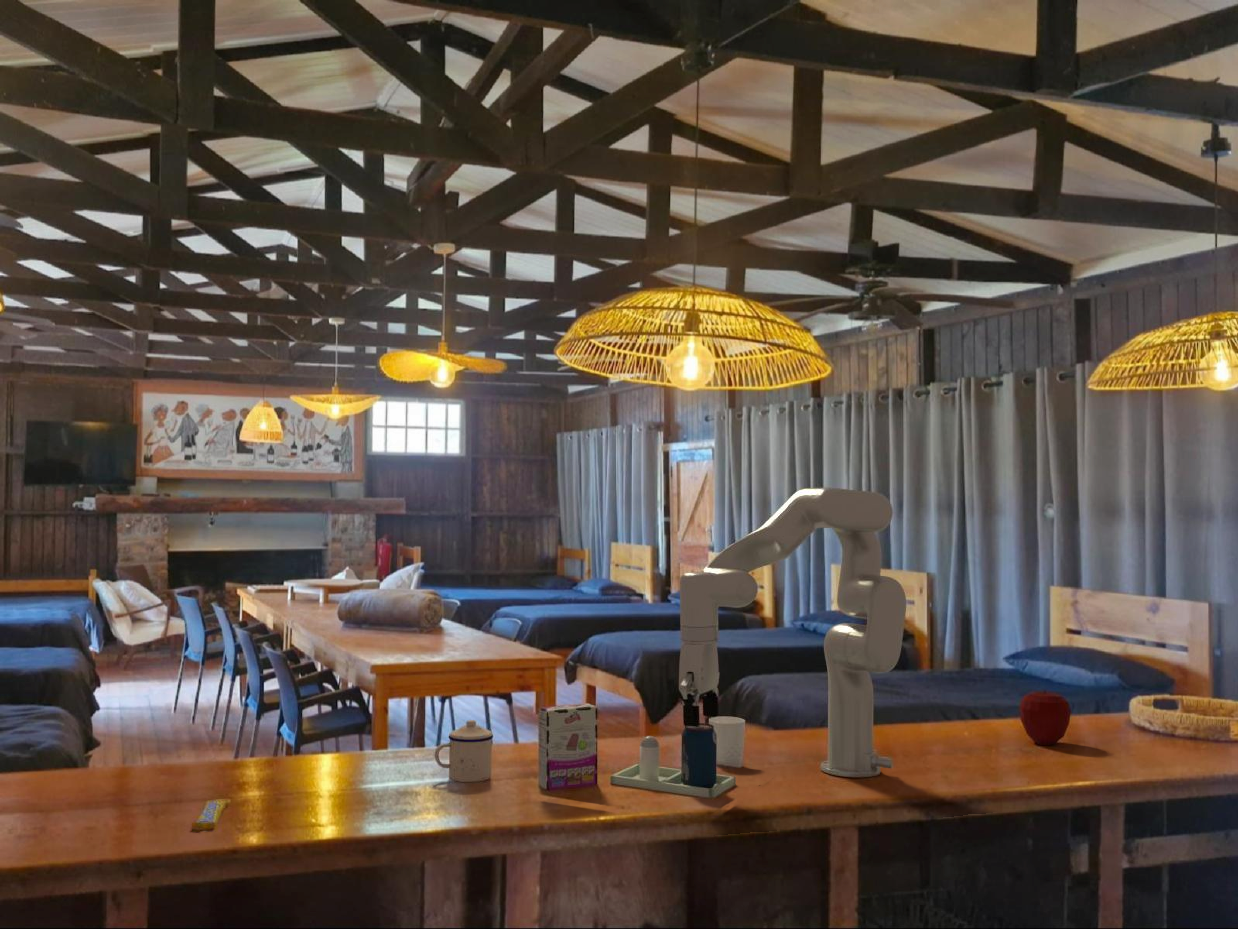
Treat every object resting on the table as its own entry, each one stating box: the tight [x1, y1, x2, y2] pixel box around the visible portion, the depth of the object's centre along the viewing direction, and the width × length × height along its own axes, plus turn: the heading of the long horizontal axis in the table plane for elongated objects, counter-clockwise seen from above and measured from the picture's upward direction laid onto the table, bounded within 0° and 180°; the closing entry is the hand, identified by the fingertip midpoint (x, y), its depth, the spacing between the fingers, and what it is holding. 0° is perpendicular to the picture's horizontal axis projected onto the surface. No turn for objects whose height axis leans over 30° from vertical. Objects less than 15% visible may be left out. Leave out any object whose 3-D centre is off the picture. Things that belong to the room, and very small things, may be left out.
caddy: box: [609, 763, 736, 799], centre depth 214 cm, size 22×12×2 cm, turn 63°
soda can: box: [680, 722, 717, 789], centre depth 212 cm, size 7×7×12 cm
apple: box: [1019, 688, 1072, 746], centre depth 263 cm, size 12×12×13 cm
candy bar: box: [190, 798, 231, 832], centre depth 191 cm, size 17×4×2 cm, turn 12°
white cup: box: [708, 715, 746, 768], centre depth 235 cm, size 8×8×10 cm
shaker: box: [638, 735, 660, 781], centre depth 217 cm, size 4×4×9 cm
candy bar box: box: [537, 702, 598, 791], centre depth 213 cm, size 11×5×16 cm, turn 118°
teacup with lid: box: [434, 719, 494, 783], centre depth 221 cm, size 12×9×12 cm
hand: (701, 721), depth 213 cm, fingers open, 9 cm apart
